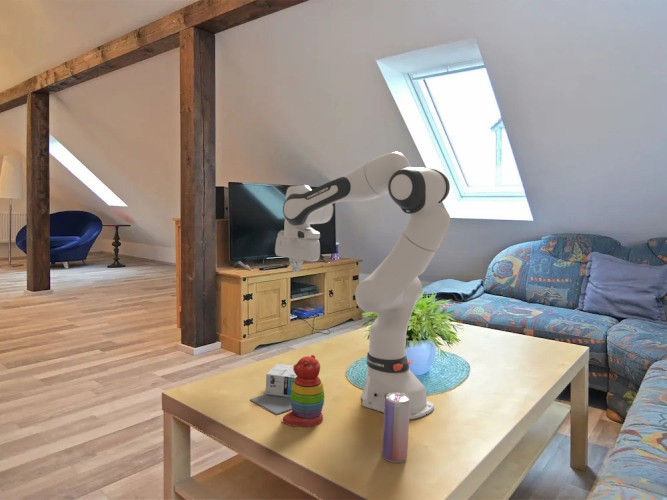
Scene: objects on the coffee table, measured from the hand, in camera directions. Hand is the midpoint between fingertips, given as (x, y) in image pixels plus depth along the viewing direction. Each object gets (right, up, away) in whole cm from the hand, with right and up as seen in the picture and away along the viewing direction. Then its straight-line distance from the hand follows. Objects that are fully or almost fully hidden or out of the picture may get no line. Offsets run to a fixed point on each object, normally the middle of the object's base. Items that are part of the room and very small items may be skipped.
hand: (295, 271), depth 173 cm
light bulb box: (-7, -33, -16) cm, 37 cm away
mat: (-2, -38, -24) cm, 45 cm away
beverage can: (+28, -42, -54) cm, 74 cm away
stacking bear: (+5, -40, -35) cm, 53 cm away
